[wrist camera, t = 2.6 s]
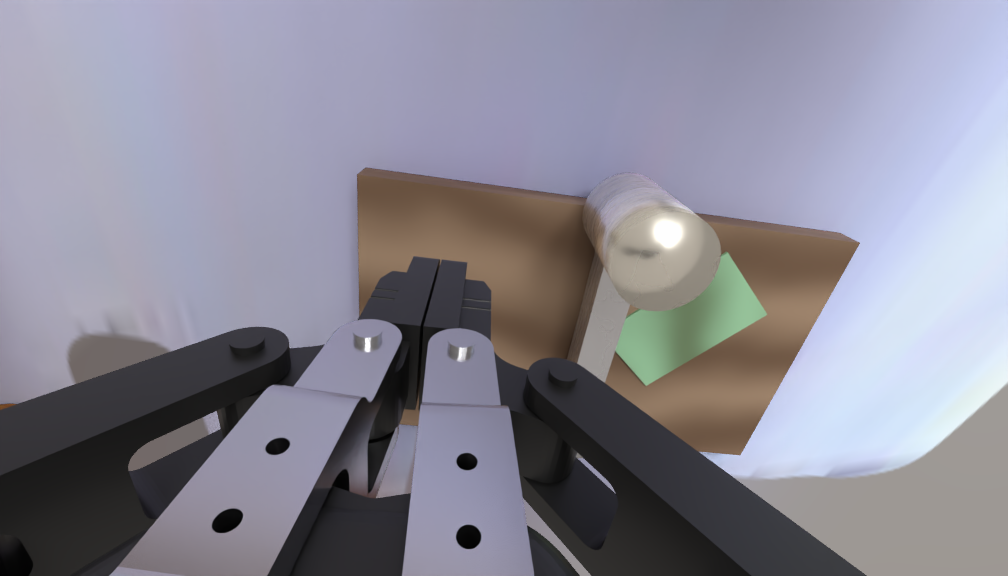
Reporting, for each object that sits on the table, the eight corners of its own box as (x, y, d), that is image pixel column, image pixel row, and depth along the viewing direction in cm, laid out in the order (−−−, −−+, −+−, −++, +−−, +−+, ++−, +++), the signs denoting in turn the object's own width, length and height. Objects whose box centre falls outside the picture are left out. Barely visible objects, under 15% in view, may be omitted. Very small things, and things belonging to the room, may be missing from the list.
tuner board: (365, 167, 22) (356, 175, 20) (839, 233, 24) (861, 244, 23) (367, 404, 29) (360, 422, 28) (729, 438, 31) (741, 457, 30)
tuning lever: (593, 166, 20) (628, 205, 15) (675, 178, 20) (738, 220, 15) (534, 417, 27) (543, 502, 22) (595, 422, 28) (619, 508, 22)
